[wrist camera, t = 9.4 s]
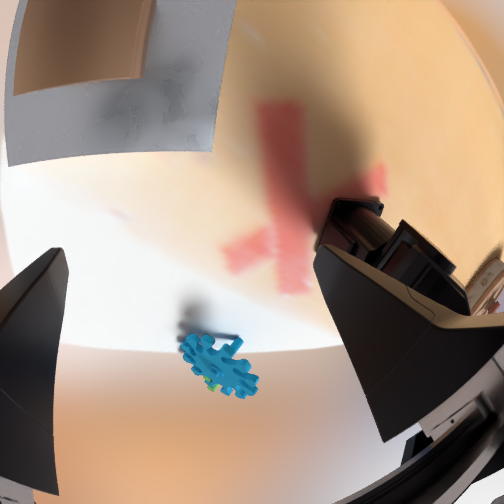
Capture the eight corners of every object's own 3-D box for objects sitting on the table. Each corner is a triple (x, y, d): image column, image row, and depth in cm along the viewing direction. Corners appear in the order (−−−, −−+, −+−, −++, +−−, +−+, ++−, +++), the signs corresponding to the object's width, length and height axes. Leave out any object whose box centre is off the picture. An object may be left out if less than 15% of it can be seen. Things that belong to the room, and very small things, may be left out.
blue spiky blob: (181, 325, 25) (266, 384, 23) (215, 292, 30) (291, 343, 28) (173, 368, 32) (236, 412, 30) (199, 340, 37) (257, 380, 35)
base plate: (237, -34, 10) (247, -46, 8) (206, 142, 18) (211, 152, 16) (42, -19, 5) (28, -28, 3) (23, 155, 13) (8, 166, 11)
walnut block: (156, 1, 9) (153, -38, 4) (143, 78, 12) (129, 76, 7) (73, 10, 7) (32, -15, 3) (62, 86, 10) (13, 96, 6)
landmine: (481, 260, 48) (506, 286, 40) (505, 252, 55) (524, 272, 47) (438, 326, 62) (456, 351, 54) (471, 308, 69) (487, 327, 61)
